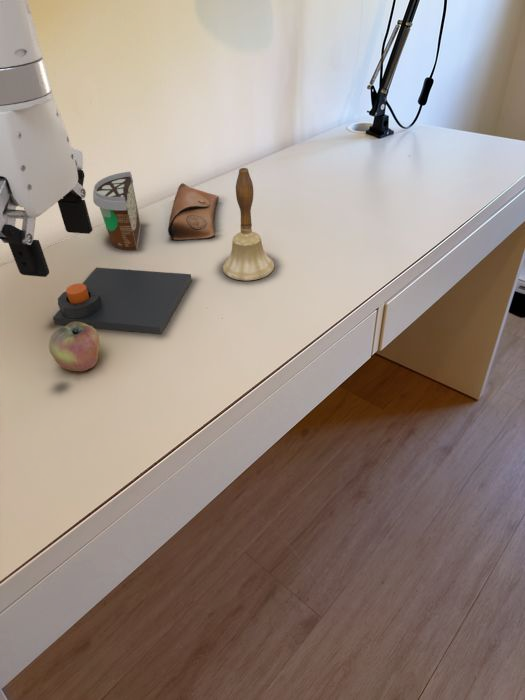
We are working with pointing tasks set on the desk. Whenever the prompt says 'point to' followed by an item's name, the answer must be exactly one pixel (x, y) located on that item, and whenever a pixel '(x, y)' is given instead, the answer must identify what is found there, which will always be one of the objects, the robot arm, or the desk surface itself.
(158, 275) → the scale
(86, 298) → the button
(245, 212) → the hand bell
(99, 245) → the desk surface
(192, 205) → the sunglasses case
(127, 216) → the food container
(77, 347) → the apple
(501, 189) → the desk surface
